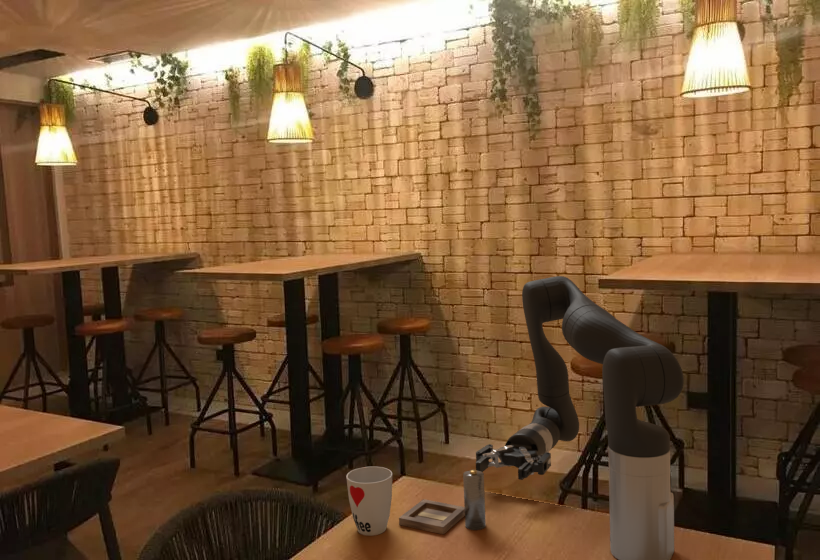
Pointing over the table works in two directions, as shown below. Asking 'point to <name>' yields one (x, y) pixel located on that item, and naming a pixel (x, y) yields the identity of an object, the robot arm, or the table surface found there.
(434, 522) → the bay
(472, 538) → the table surface
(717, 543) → the table surface
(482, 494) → the cell
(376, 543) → the table surface
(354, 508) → the cup
